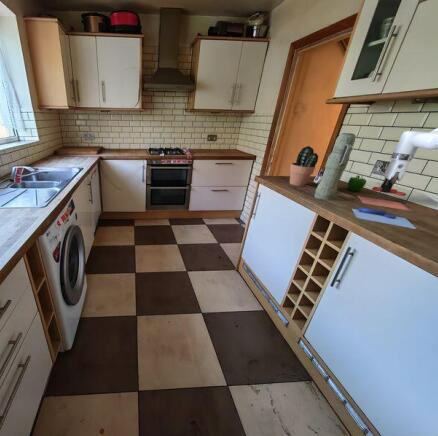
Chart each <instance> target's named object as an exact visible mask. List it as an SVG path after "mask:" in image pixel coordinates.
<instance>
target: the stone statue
mask: <svg viewBox="0 0 438 436" xmlns="http://www.w3.org/2000/svg"><path fill="white" fill-rule="evenodd" d="M355 143H356V134H354V133H350V132H342V133H340V134H339V135H338V136H337V138H336V139H335V143H334V144H333V149H332V151H331V152H330V154H329V155H328V157H327V161H326V162H325V166H324V171H323V173H322V177H321V179H320V182H319V183H318V184H317V187H316V189H315V191H314V192H315V193H314V199H317V200H323V201H333V199H334V197H335V196H336V193H337V191H338V185H339V182H340V180H341V178H342V175H343V172H344V171H345V170H346V168H347V166H348V163H349V161H350V155H351V151H352V149H353V147H354V144H355Z"/></svg>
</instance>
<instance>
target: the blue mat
mask: <svg viewBox="0 0 438 436" xmlns="http://www.w3.org/2000/svg"><path fill="white" fill-rule="evenodd" d="M351 210H352V212H353V214H354V215H355V217H356V219H362V220H367V221H371V222H376V223H377V222H378V223H383V224H388V225H393V226H398V227H403V228H409V229H414V230H417V227H415V226H414V224H412V223H411V222H410V221H409V220H408V219H407V218H406V217H403V216H402V217H401V216H396V218H395V219H391V218H387V217H384V216H381V215H376V214H370V213H364V212H360V211H358V209H357V208H351Z"/></svg>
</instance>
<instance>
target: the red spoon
mask: <svg viewBox="0 0 438 436" xmlns="http://www.w3.org/2000/svg"><path fill="white" fill-rule="evenodd" d="M381 190H382V188H381V186H373V187H372V188H371V191H374V192H381ZM381 193H382V192H381ZM388 194H394V195H397V196H402V197H406V196H407V193H406V192H403V191H400V190H399V191H398V189H396V188H395V189H394V188H391V190H390V192H389V193H388Z"/></svg>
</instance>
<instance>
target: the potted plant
mask: <svg viewBox="0 0 438 436" xmlns="http://www.w3.org/2000/svg"><path fill="white" fill-rule="evenodd" d="M318 162H319V155H318V154H317V152H314V148H313V147H311V146H310V145H307V146H304V147H302V148H301V150H300V151H299V152H298V154H297V157H296V161H295V162H291V164H290V168H289V172H290V173H289V184H290V185H291V186H295V187H305V185H306V184H307V182H308V181H309V179H310V177H311V175H313V174H314V172H315V169H316V165H317V163H318Z"/></svg>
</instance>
